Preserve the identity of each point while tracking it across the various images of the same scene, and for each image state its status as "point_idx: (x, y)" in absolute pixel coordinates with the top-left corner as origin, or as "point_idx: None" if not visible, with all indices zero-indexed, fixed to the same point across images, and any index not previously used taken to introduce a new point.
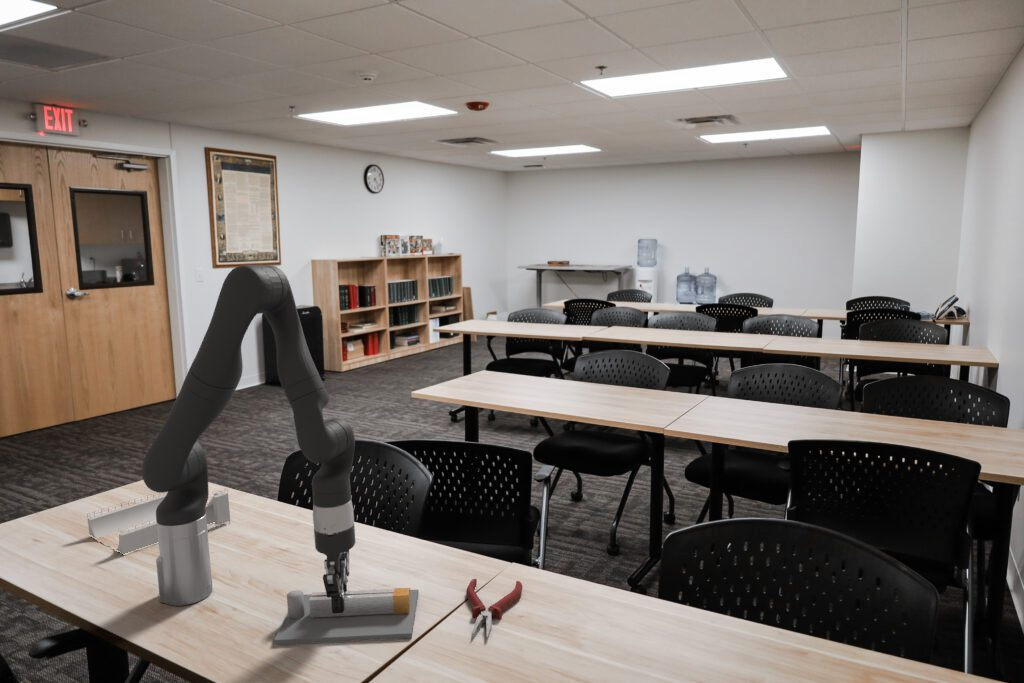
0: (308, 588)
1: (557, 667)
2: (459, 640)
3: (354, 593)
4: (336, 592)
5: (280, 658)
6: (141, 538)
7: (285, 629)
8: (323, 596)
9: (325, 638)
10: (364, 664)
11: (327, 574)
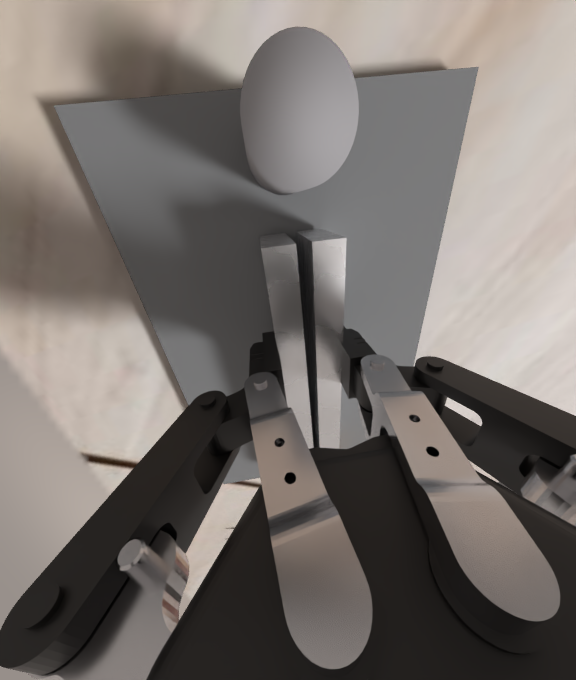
0: (542, 108)
1: (193, 583)
2: (231, 518)
3: (320, 411)
4: (207, 449)
5: (4, 194)
6: None
7: (162, 137)
8: (301, 310)
9: (156, 331)
10: (107, 433)
11: (47, 672)
